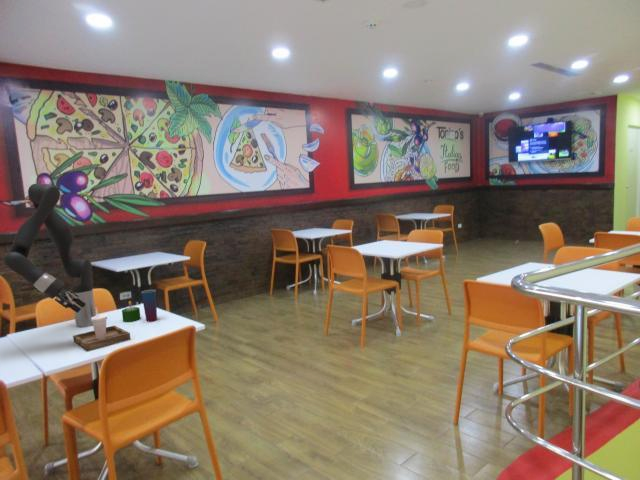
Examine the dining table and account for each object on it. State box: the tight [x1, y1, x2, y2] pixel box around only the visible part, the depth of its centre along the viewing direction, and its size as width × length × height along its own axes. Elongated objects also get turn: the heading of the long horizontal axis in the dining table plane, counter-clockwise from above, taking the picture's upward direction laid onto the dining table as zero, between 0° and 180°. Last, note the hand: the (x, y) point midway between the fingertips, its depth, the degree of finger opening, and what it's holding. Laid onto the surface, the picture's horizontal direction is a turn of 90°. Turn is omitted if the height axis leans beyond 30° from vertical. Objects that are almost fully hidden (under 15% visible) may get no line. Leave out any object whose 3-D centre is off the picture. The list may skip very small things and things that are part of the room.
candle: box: [121, 300, 142, 323], centre depth 232 cm, size 8×8×10 cm
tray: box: [72, 325, 132, 352], centre depth 201 cm, size 18×18×3 cm
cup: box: [141, 289, 158, 323], centre depth 228 cm, size 7×7×15 cm
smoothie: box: [91, 307, 108, 340], centre depth 200 cm, size 6×6×14 cm
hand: (82, 308), depth 198 cm, fingers open, 8 cm apart
